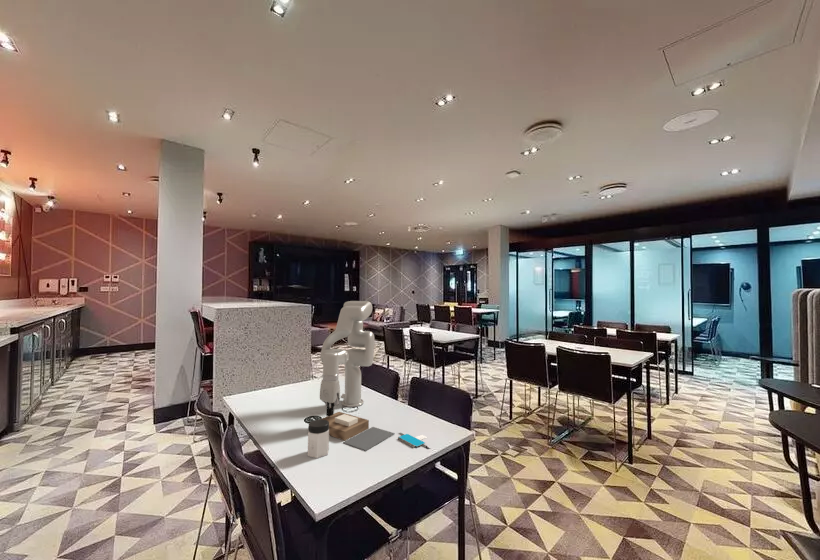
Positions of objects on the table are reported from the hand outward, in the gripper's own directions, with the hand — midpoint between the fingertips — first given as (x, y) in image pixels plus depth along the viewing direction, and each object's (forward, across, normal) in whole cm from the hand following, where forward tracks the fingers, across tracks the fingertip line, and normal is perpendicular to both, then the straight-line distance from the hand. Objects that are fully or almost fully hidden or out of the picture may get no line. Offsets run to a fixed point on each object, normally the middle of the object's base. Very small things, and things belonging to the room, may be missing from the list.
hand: (330, 415), depth 163 cm
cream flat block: (+1, +11, 0) cm, 11 cm away
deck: (+5, +8, 0) cm, 9 cm away
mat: (+5, +26, 0) cm, 26 cm away
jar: (+5, +17, -22) cm, 28 cm away
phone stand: (+6, +43, +10) cm, 45 cm away
